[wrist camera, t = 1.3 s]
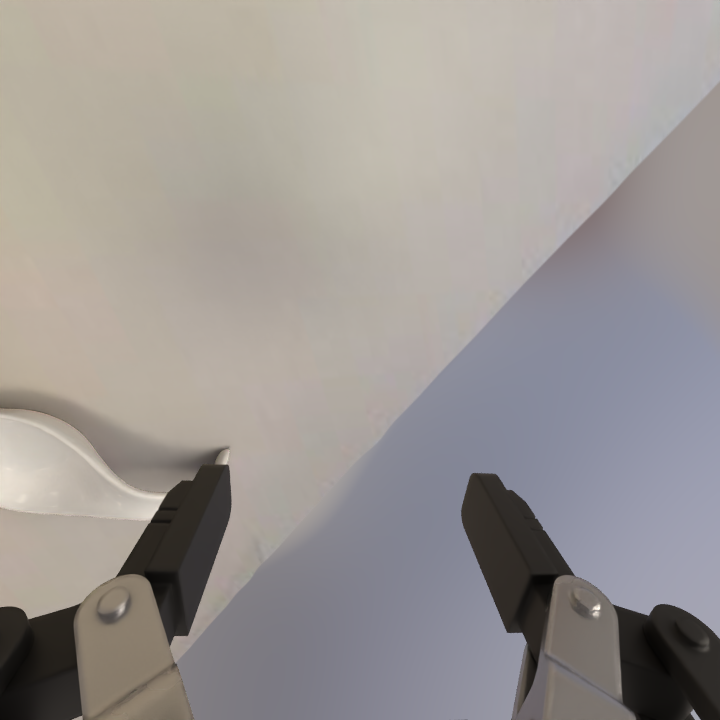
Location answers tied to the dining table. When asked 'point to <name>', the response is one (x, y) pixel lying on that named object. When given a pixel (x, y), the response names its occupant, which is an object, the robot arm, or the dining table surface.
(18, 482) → the spoon rest
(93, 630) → the robot arm
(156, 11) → the dining table surface
